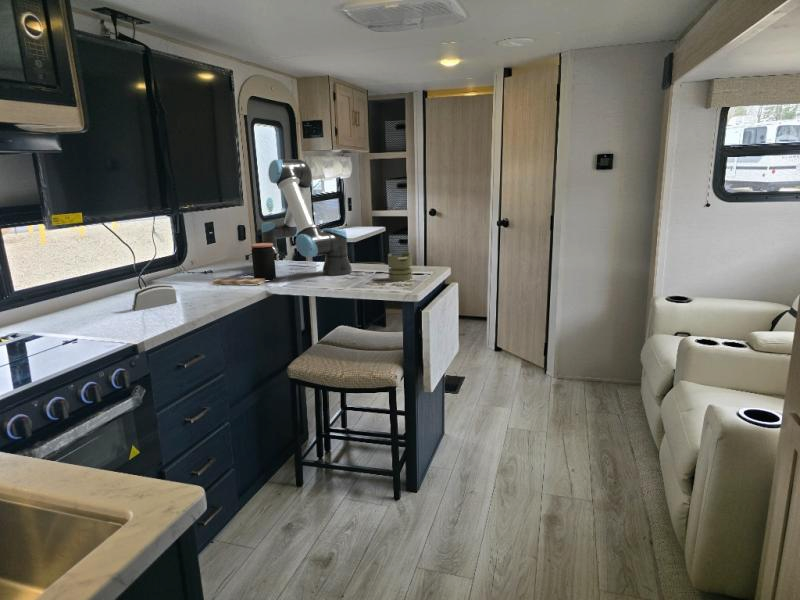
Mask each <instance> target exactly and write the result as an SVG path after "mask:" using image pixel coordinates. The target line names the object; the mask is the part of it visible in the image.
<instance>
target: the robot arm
mask: <svg viewBox="0 0 800 600" xmlns="http://www.w3.org/2000/svg"><path fill="white" fill-rule="evenodd" d="M267 174H268V179H269V181H270V183H272V184H276V186H277V188H278V189H279V191H282V192H283V195H284V198H285V200H286V203H287V209H286V214H285V217H284V220H283V224H276V223H275V222H273V221H269V222H262V223H261V237H262V238H261V239H262V243H273V246H272V247H273V249H274V259H276V261H277V262H278V261H279V260H282V259H286V253H285V252H281V251H279V248H278V246H277V245H278V243H277V239H283V238H284V239H285V238H294V237H296V238H295V246H296V249H297V251H298V253H299V254H300V255H301V256H302V257H304V258H315V257H320V256H324V258H325V259H324V263H323V267H322V274H323V275H326V276H343V275H349V274H351V273H353V270H352V269H353V268H352V266H351V262H350V260H349V258H348V240H347V239H348V237H347V231H346V230H345V229H343V228H341V229H339V228H323V231H321V230H320V227H319V226H318V225H316V224H315V223H314V219H313V218H312V215H311V213H310V210H309V207H308V205H307V203H306V200H305V198H306V195H307V192H308V189H309V188H310V187H311V185H312V181H313V174H312V170H311V167H310V165H309V164H308V163H307V162H305V161H304V160H302V159H298V158H296V159H288V158H287V159H281V158H280V159H273V160H272V161H270V164H269V167H268V173H267ZM244 258H245V260H246V261H248V263H252V253H250V254H246V255H244Z"/></svg>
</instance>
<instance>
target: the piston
mask: <svg viewBox="0 0 800 600" xmlns="http://www.w3.org/2000/svg"><path fill="white" fill-rule="evenodd" d="M412 256H413V255H412V253H410V252H402V253H401V255H400V256H399V257H398V255H393V254H392V253H388V254H387V261H388V262H387V263H388V264H387V265H388V280H389V281H392V282H406V281H405V280H408V281H411V280H413V260H412V259H413V257H412ZM410 279H411V280H410Z"/></svg>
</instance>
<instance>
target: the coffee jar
mask: <svg viewBox="0 0 800 600" xmlns="http://www.w3.org/2000/svg"><path fill="white" fill-rule="evenodd" d="M272 246H273V243H263V242H259V243H257V242H256V243H252V244H250V247H251V250H250V251H251V254H252V261H251V263H252V269H253V270H252V271H253V278H265V280H273V279H275V280H276V279H277V273H276V260H275V259H276V258H274V249H273V247H272ZM273 281H274V280H273Z"/></svg>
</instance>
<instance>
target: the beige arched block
mask: <svg viewBox="0 0 800 600" xmlns="http://www.w3.org/2000/svg"><path fill="white" fill-rule="evenodd" d="M176 292H177V291H176V289H175V287H174V286H172V285H169V284H154V285H149V286H147V287H143V288H141V289H140V288H139V289H138V290H136V291H135V292H134V297H133V304H132V308H131V309H132V310H134V311H136V312H138V311H139V312H140V311H143V310H147V309H155V308H158V307H164V306H169V305H173V304H174V305H175V304H177V303H178V300H177V293H176Z"/></svg>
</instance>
